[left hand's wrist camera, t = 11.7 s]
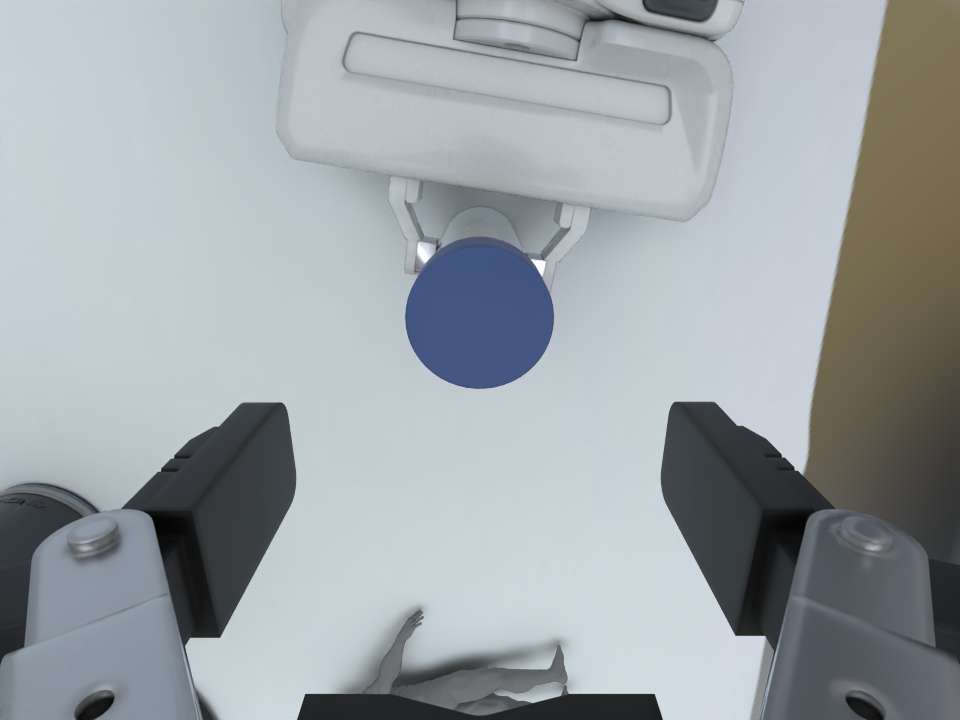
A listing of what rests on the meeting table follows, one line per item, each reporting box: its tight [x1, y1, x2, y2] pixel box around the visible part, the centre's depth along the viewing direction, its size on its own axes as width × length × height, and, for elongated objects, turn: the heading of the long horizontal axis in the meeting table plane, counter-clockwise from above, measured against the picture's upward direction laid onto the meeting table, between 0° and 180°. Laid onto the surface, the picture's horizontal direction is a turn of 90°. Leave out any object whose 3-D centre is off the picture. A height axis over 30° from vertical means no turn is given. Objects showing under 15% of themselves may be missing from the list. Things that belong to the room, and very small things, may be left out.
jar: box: [436, 207, 523, 252], centre depth 27 cm, size 5×5×16 cm
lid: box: [405, 237, 554, 389], centre depth 20 cm, size 5×5×2 cm
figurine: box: [362, 610, 569, 715], centre depth 46 cm, size 17×4×20 cm
